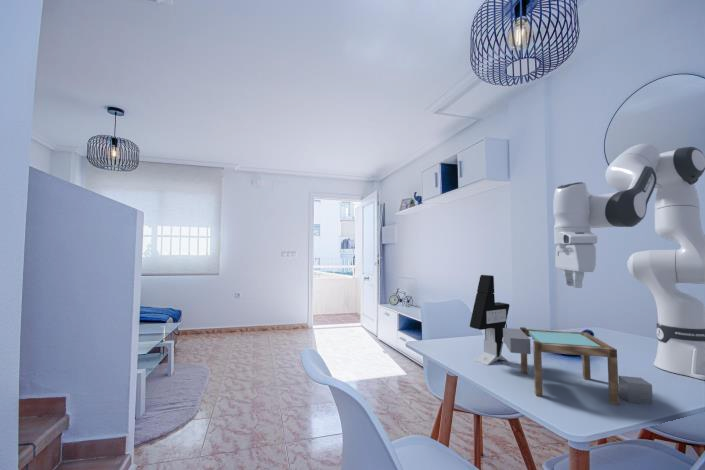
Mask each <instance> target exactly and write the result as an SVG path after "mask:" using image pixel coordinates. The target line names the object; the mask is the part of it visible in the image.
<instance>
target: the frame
mask: <svg viewBox="0 0 705 470" xmlns="http://www.w3.org/2000/svg"><path fill="white" fill-rule="evenodd" d="M519 329H521V330H522V331H523V332H524V333H525V335H526V336H527V337H528V338H532V337H531V336H530V335H529V331H540V332H557V333H573V334H581V335H583V336H585V337H586V338H588V339H590V340H591V341H593V342H594V343H596V344H598V345H599V346H601V347H590V346H576V345H561V344H547V343H541V342H540V341H535V340H532V341H533V342H532V343H533V344H532V345H533V371H534V372H533V373H534V375H533V377H534V394H535V396H536V397H544V395H543V394H544V393H543V391H544V390H543V369H542V368H543V365H542V361H543V360H542V353H546V354H547V353H548V354H561V355H563V354H564V355H574V356H576V355H577V356H581V361H582V362H581V363H582V378H583V379H584V380H588V381H591V380H592V379H591V361H590V360H591V357H592V356H593V357H599V358H601V357H602V358H607V377H608V378H607V379H608V383H607V384H608V401H609V403H610V404H612V405H617V406H619V405H620V395H619V378H618V376H619V371H618V370H619V369H618V365H619V364H618V349H616V348H615V347H612V346H611V345H609V344H607V343H606V342H604V341H602V340H601V339H598V338H597V337H595V336H594V335H591V334H590V333H588V332H582V331H561V330H546V329H543V330H542V329H531V328H530V329H529V328H526V327H525V326H524V327H523V326H522V327H521V326H520V327H519ZM520 366H521V367H520V368H521V369H520V372H521V374H524V375H525V374H526V375H527V374H529V373H528V354H522V353H520Z"/></svg>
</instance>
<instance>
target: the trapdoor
mask: <svg viewBox="0 0 705 470" xmlns="http://www.w3.org/2000/svg"><path fill="white" fill-rule="evenodd" d="M529 335H530V336H531V337H527V336H526V335H525V333H524V332H523V331H522V330H521V329H520V328H509V327H505V328H503V339H502V341H504V342H503V344H505V345H506V348H507V349H508V351H509V352H510V353H512V354H521V353H522V354H527V355H531V354H532V353H531V352H532V351H531V339H530V338H532V339H533V341H540V342H541V343H547V344H561V345H576V346H590V347H601V346H599V345H598V344H596V343H594V342H593V341H591V340H590V339H588V338H586V337H585V336H583V335H581V334H573V333H557V332H540V331H529Z"/></svg>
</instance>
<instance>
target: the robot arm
mask: <svg viewBox="0 0 705 470" xmlns="http://www.w3.org/2000/svg"><path fill="white" fill-rule="evenodd" d="M704 172H705V155H704V153H703V151H701V150H700V149H699V148H697V147H695V146H686V147H679V148H677V149H675V150H668V151H664V152H661V153H660V150H659V149H658V148H657V147H655V146H654V145H653V144H650V143H638V144H635V145H632V146H631V147H628V148H627V149H626V150H624V151H623V152H621V153H620V154H619V155H618V156H617V157H616V158H614V159H613V160H612V161H611V163H609V165H608V167H607V168H606V170H605V173H604V174H605V180H606V183H607V184H608V186H610V187H611V188H613V189H614V190H616V192H610V193H603V194H598V195H594V194H592V193H590V192H589V190H588V188H587V187H588V186H587V184H586V182H582V181H581V182H579V181H578V182H574V183H573V182H571V183H567V184H562V185H559V186H557V187H556V188H555V190H554V193H553V203H552V205H553V206H552V211H553V212H552V213H553V217H554V221H555V222H554V225H553V239H554V240H553V241H554V243H553V244H554V245H555V246H556V245H557V246H556V248H555V255H554V257H555V260H554V264H555V268H556V269H557V270H562V271H563V272H562V273H563V276H564V280H565V285H566V286H567V287H568V286H569V287H573V288H576V289H581V288H583V280H584V277H585V273H594V271H595V268H596V262H597V259H596V257H597V253H596V252H597V250H596V249H597V247H596V245H597V243H598V236H597V235H596V234H595V233H593V232H592V230H591V229H594V228H595V229H600V228H615V227H616V228H633V227H635V226H637V225H638V224H639V223H640V222H641V221H643V220H644V218H645V216H646V213H647V208H648V207H647V206H648V203H649V201H650V199H651V197H652V194H653V192H654V190H655V189H656V190H657V191H656V194H655V200H654V231H655V233H656V235H657V236H659V237H660V238H662V239H665V240H668V241H670V242H673V243H676V244H678V245H680V248H678V249H677V248H676V249H648V250H647V249H646V250H641V251H637V252H636V251H635V252H633V253H632V254H630V256H629V258H627V262H626V263H627V264H626V266H627V270H628V272H629V274H630V275H631V276H632V277H633V278H635V280H638V281H639V282H641V283H642V284H643V285H644V286H645V287H646V288H647V289H648V291H650V292H651V294H652V296H653V298H654V301H655V305H656V312H657V322H656V338H657V348H656V349H657V350H656V355H655V357H654V358H655V359H654V362H653V365H654V367H656V368H658V369H661V370H664V371H666V372H670V373H673V374H674V373H675V374H677V375H681V376H682V375H683V376H687V377H692V378H694V379H699V380H703V381H705V305H704V302H702V301H701V300H700V299H698V298H697V297H694V296H693V295H690V294H688V293H685V292H683V291H681V290H680V289H678V286H677V285H676V284H692V285H693V284H695V285H697V284H698V285H705V233H704V230H703V227H702V222H701V221H702V220H701V208H700V207H701V206H700V200H699V199H700V198H699V194H698V190H697V188H696V185H695V184H696V183H697V182H698V181H699V178H700V177H702V175H703V174H704Z"/></svg>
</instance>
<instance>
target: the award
mask: <svg viewBox="0 0 705 470" xmlns="http://www.w3.org/2000/svg"><path fill="white" fill-rule="evenodd" d="M478 280H479V281H478V285H477V291H476V295H475V299H474V304H473V307H472V313H471V317H470V322H469V327H470V328H473V329H475V330H480V331H481V330H484V335H485V336H484V337H485V339H483V352H482V353H481V354H480V355H478V357H477V358H476V359H475V360H474V361H475V362H477V363H480V364H483V365H486V366H489V365H491V364H493V363H494V362H496V361H497V360H501V361H506V362H507V361H508V359H507V358H506V357H504V356H503V355H502V352H503V346H504V341H503V328H506V325H507V324H506V323H507V319H508V314H509V310H510V304H509V303H505V302H500V301H499V302H496V301H495V276H494V275H491V274H490V275H488V274H480V276H479V279H478Z"/></svg>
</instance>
